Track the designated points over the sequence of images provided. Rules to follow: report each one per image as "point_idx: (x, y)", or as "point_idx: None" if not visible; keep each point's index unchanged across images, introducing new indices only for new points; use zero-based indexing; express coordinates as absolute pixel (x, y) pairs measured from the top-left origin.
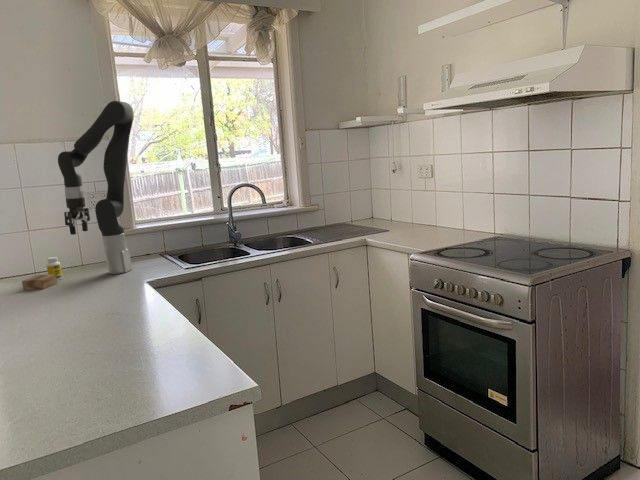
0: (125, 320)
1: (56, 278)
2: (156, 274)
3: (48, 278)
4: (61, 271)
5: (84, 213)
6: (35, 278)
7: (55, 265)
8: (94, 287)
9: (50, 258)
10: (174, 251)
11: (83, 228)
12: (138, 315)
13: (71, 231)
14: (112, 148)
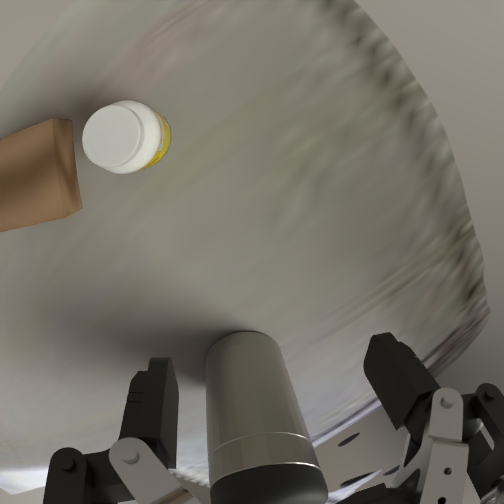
0: (9, 457)
1: (73, 212)
2: (198, 454)
3: (27, 225)
4: (149, 165)
5: (501, 475)
6: (9, 176)
7: (105, 169)
8: (68, 381)
9: (90, 141)
10: (463, 349)
11: (382, 362)
12: (23, 464)
13: (141, 397)
14: None
